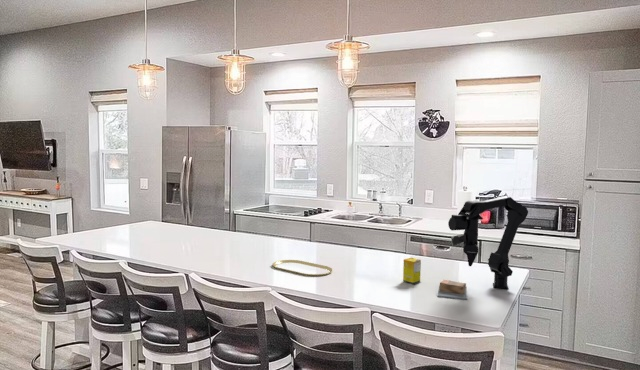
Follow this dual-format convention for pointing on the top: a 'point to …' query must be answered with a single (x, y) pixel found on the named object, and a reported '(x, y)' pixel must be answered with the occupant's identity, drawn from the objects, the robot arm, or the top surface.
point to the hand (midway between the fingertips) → (469, 263)
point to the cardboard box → (452, 287)
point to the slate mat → (452, 295)
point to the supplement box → (411, 270)
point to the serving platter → (304, 264)
